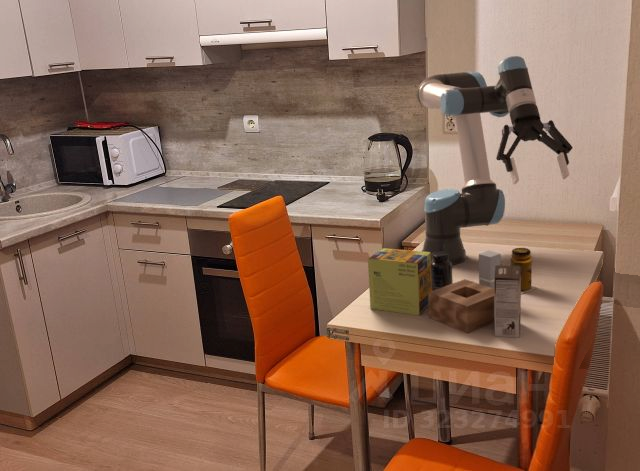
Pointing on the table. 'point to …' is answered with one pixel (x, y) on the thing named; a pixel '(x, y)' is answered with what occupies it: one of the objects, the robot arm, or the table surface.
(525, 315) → the table surface
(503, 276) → the coffee box
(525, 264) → the condiment
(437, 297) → the block
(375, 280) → the protein box
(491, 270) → the peg
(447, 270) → the supplement bottle
